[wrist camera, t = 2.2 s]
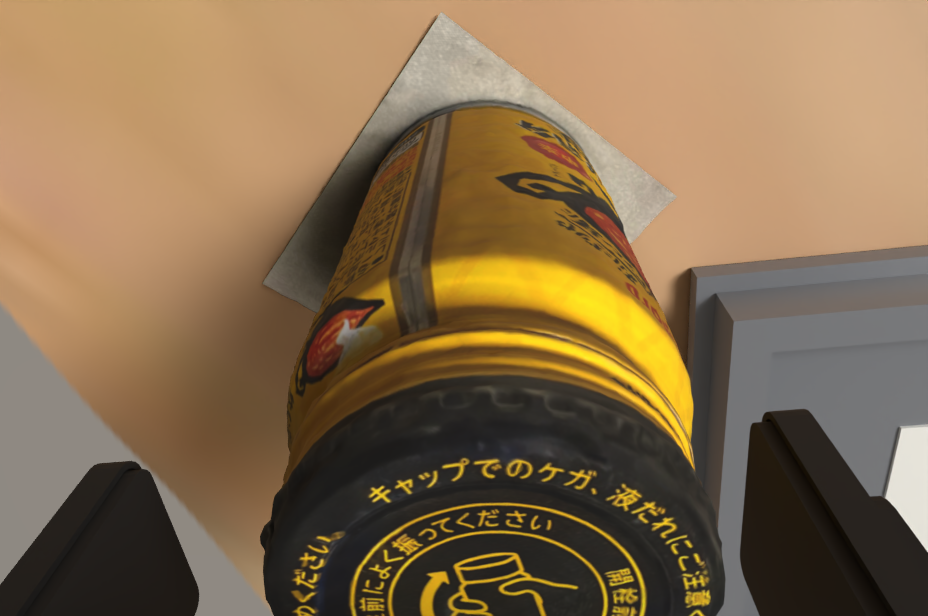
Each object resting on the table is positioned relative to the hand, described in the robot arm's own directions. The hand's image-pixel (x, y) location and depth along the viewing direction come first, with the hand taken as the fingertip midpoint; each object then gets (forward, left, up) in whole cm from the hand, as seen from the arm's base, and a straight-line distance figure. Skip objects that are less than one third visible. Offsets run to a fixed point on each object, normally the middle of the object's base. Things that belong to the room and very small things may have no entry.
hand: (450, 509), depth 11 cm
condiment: (-1, 0, -9) cm, 9 cm away
